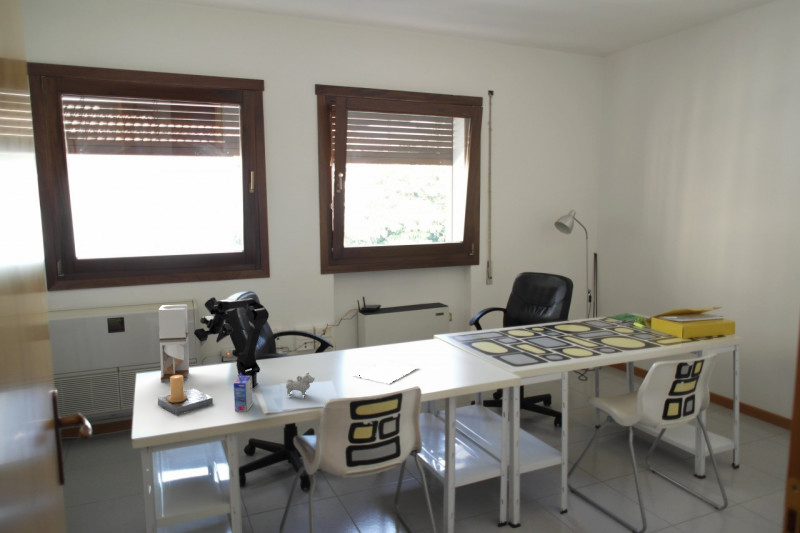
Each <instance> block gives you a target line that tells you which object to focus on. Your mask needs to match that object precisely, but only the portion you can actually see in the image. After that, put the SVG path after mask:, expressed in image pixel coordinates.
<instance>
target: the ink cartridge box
mask: <svg viewBox="0 0 800 533" xmlns="http://www.w3.org/2000/svg"><path fill="white" fill-rule="evenodd" d="M240 375H241V376H240ZM237 376H238V378H237V379H236V380H235V381H234V382H233V398H234V399H233V401H234V412H248V411H249V409H250V407H251V406H252V404H253V401H254V400H253V399H254V397H253V395H254V394H253V389H252V376H243V375H242V374H241V373H240V374H238V375H237Z"/></svg>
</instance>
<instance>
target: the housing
mask: <svg viewBox="0 0 800 533" xmlns="http://www.w3.org/2000/svg"><path fill="white" fill-rule="evenodd" d="M184 395H187V399H186V400H185V401H183V402H180V403H176V404H172V403H171V402H168V401H167V398H168V397H169V396H171V394H168V395H164V396H160V397H157V405H158V406H159V407H161V408H162V409H165V411H168V412H170V413H172V414H173V415H174V416H179V415H182V414H185V413H189V412H192V411H195V410H199V409H202V408H206V407H209V406H212V405H214V401H213V400H214V398H213V397H212V396H211V395H208V394H206V393H204V392H202V391H199V390H198V389H196V388H190V389H186V390H184Z"/></svg>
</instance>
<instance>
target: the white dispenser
mask: <svg viewBox="0 0 800 533" xmlns="http://www.w3.org/2000/svg"><path fill="white" fill-rule="evenodd" d="M188 324H189V322H188V304H171V305H170V304H167V305H166V304H165V305H164V304H163V305H161V306H160V307H159V308H158V332H159V335H158V336H159V337H158V338H159V347H160V348H159V350H160V351H159V355H160V357H159V358H160V383H163V382H162V381H169V382H170V377H171V376H174V375H182V376H183V380H184V381H187V380H188V378H187V377H189V375H190V366H189V365H190V364H189V363H190V362H189V360H190V359H189V358H190V357H189V356H190V354H189V328H188V327H189V325H188ZM188 374H189V375H188Z"/></svg>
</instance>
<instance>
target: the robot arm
mask: <svg viewBox="0 0 800 533" xmlns="http://www.w3.org/2000/svg"><path fill="white" fill-rule="evenodd" d="M203 307H204V308H206V310H207V311H208V313H209V314H210V315H207V316H201V317H200V319H199V320H200V321H199V323H201V324H202V325H206V326H205V327H206V328H207V329H208V330H205V329H204V328H203V327H202V328H195V330H194V332H193V334H194V336H195V337H196V338H197V339H198V341H199V346H200V347H202V346H204V345H205V343H206V342H207V341H208V338H209V336H213V335H217V334H218V335H217V337H216V343H219V342H221V341H222V340H224V339H225V338H228V336H230V335H233V332H234V329H233V328H232V326H231V325H230V323H227V322H226V320H230V319H231V317H230V316H229V313H228V312H231V311H234V310H235V309H244V310H245V311H244V312H245V315H246V317H247V318H248V319H247V320H248V323H249V325H250V326H249V329H248V334H247V338H246V342H245V345H244V350H243V352H239V353H238V354H237V359H236V361H235V362H236V370H237V374H238V375H239V374H240V373H241V374H242V375H243V376H252V390H254V389H255V388H256V387H257V386H258V385H259V383H257V381H258V378H257V377H258V375H257V374H259V373H260V371H261V367H260V366H259V364H258V363H257V357H256V349H257V346H258V342H259V338H260V334H261V331H262V328H263V327H264V326H265V325H266V323H267V322H268V319H269V317H270V316H269V315H270V314H269V311H268V309H266V307H265V306H264V305H263V304H262V303H259V302H257V301H256V299H255V298H252V297H251V298H245V299H238V300H234V299H231V298H227V299H220V300H217V298H216V297H214V296H213V297H210V299H207V300H206V301H205V303H204V306H203ZM251 308H253V309H251ZM225 322H226V323H225ZM240 376H241V375H240Z"/></svg>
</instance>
